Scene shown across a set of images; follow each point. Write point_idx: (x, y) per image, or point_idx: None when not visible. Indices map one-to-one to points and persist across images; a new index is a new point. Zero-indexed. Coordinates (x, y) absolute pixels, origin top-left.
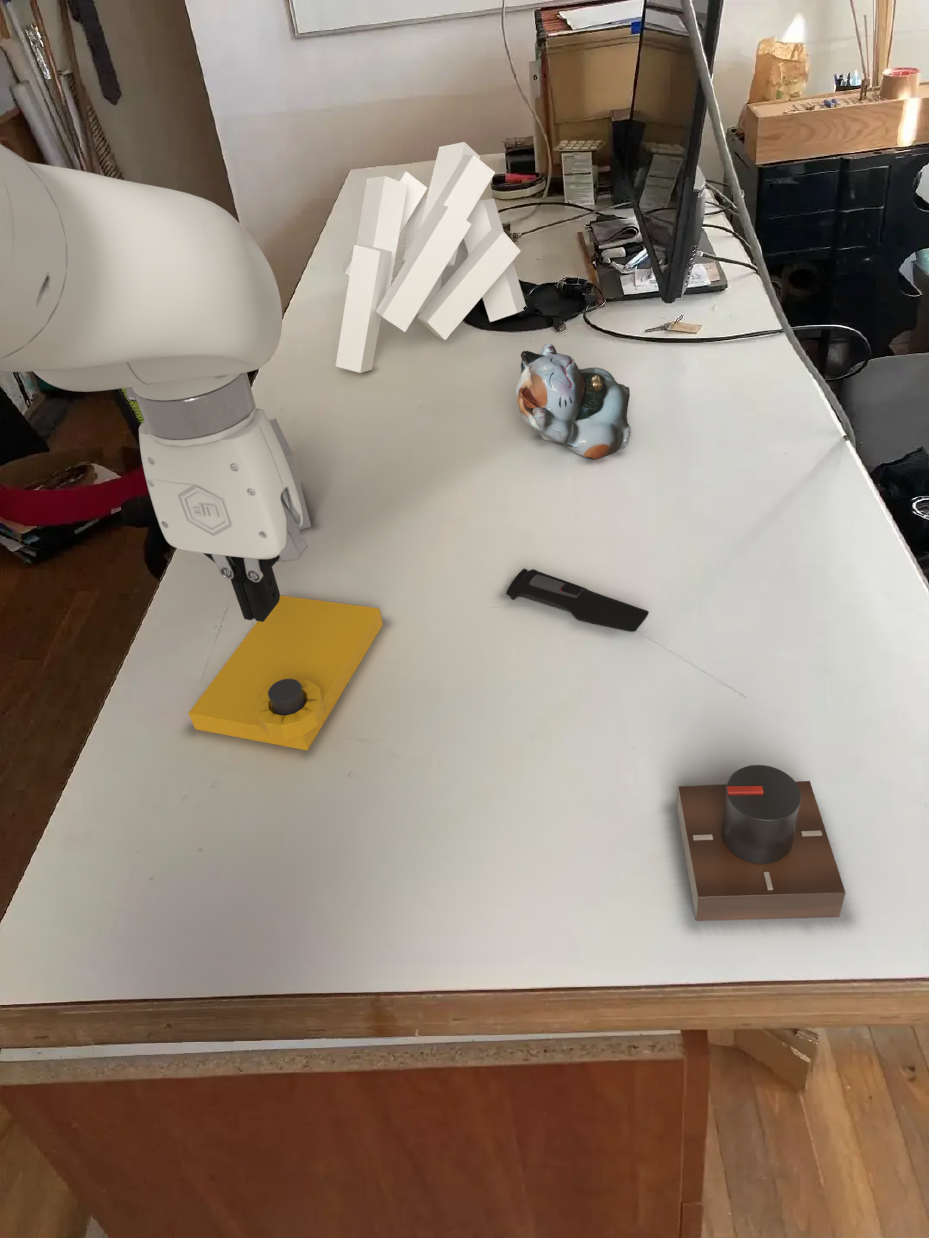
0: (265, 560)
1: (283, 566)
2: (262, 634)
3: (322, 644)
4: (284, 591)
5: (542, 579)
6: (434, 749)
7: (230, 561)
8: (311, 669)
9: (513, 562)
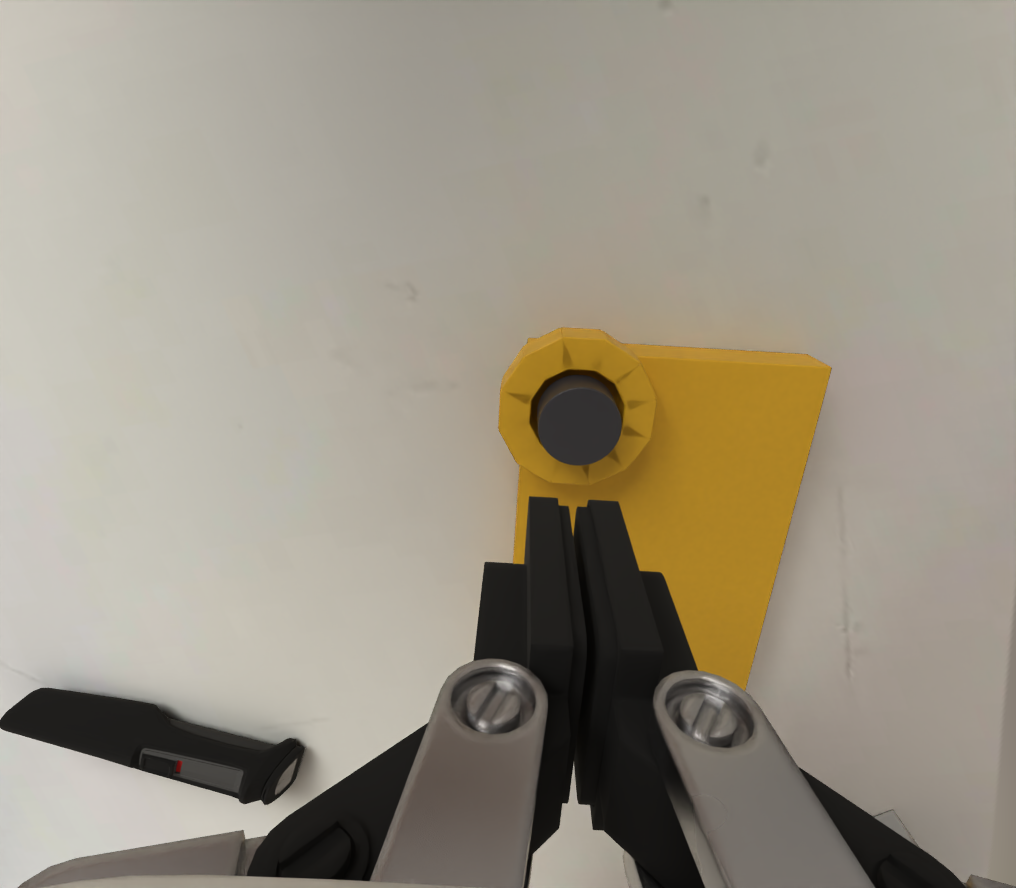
0: (360, 836)
1: None
2: (732, 608)
3: None
4: None
5: (224, 782)
6: (273, 384)
7: (681, 807)
8: None
9: None
